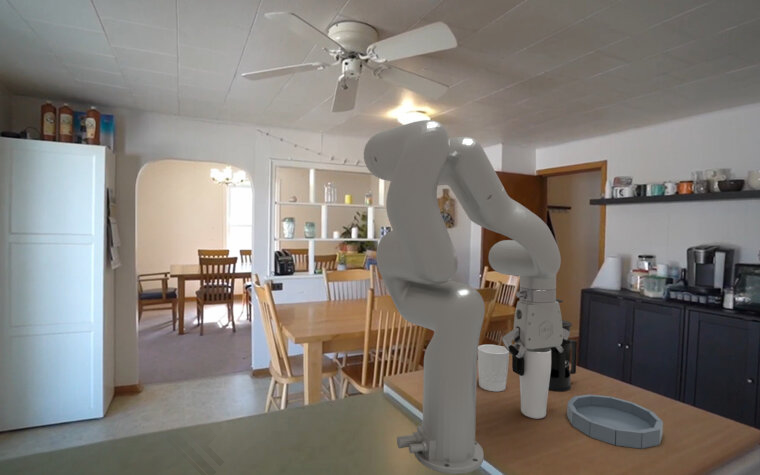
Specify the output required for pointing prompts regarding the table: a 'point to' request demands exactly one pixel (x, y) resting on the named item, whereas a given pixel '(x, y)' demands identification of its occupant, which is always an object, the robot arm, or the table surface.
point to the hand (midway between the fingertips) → (536, 370)
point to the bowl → (615, 421)
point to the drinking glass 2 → (535, 382)
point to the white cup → (492, 367)
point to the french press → (564, 364)
